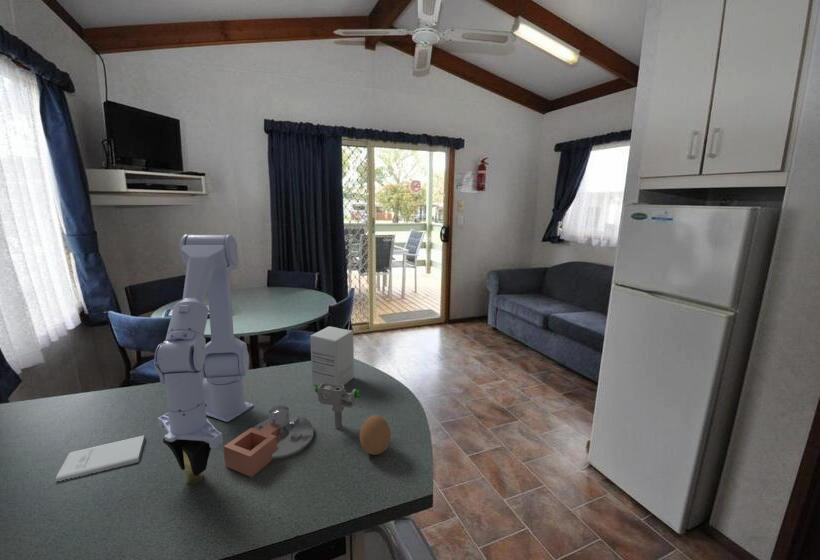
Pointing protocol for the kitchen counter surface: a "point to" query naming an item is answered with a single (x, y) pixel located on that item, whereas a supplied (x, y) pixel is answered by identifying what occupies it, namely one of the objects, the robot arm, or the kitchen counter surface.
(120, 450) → the external hard drive
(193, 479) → the gold capsule
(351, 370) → the supplement box
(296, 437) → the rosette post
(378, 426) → the egg
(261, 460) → the bracket
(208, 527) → the kitchen counter surface
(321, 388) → the mechanical component
